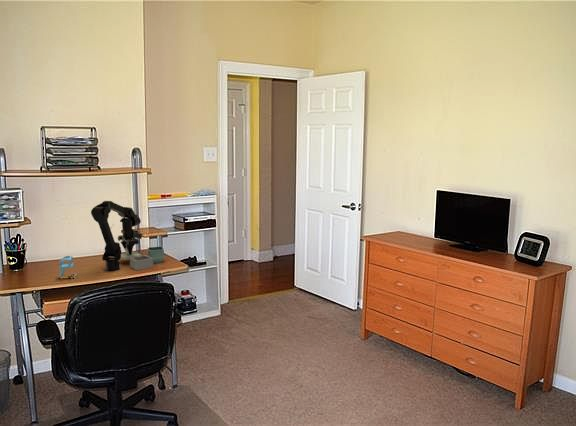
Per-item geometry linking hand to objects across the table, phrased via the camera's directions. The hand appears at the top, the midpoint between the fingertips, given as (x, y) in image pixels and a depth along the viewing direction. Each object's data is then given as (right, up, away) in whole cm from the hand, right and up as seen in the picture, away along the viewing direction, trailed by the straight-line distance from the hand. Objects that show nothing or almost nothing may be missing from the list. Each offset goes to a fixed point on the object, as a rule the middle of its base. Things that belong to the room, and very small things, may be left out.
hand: (129, 253), depth 311 cm
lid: (0, -1, 0) cm, 2 cm away
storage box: (+11, -8, -11) cm, 17 cm away
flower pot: (+16, -6, +1) cm, 17 cm away
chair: (-25, -11, -28) cm, 39 cm away
